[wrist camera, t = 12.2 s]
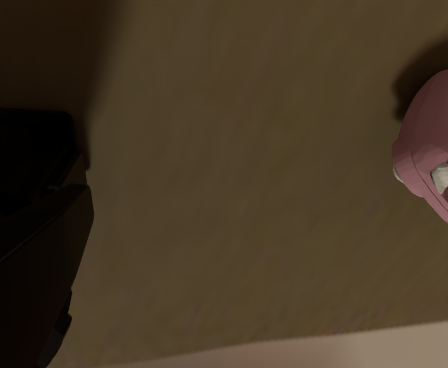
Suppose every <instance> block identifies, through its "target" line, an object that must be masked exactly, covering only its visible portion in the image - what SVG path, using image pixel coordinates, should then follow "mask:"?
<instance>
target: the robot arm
mask: <svg viewBox="0 0 448 368" xmlns="http://www.w3.org/2000/svg"><path fill="white" fill-rule="evenodd" d="M60 118H61V119H64V120H65V121H66V124H62V123H61V122H60V121H59V119H60ZM93 220H94V209H93V202H92V195H91V189H90V187H89V186H88V185H87V180H86V173H85V166H84V159H83V152H82V151H81V150H80V149H79V148H77V144H76V137H75V130H74V124H73V119H72V117H71V116H70V114H68V113H66V112H63V111H46V110H29V109H12V108H0V368H46V367H47V366H48V365H49V363H50V362H51V360H52V359H53V358H54V356H55V355H56V353H57V351H58V350H59V348H60V346H61V344H62V342H63V339H64V337H65V335H66V333H67V331H68V329H69V327H70V325H71V320H72V317H71V315H70V314H68V311H69V306H70V301H71V296H72V290H71V287H72V284H73V282H74V279H75V277H76V274H77V271H78V268H79V265H80V262H81V259H82V256H83V253H84V249H85V246H86V243H87V240H88V237H89V233H90V230H91V227H92V224H93Z"/></svg>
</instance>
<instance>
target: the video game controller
mask: <svg viewBox="0 0 448 368" xmlns="http://www.w3.org/2000/svg"><path fill="white" fill-rule="evenodd" d="M392 158H393V161H394V165H393V169H394V174H395V176H396V177H397V178H398V179H399V180H400V181H401V182H403V183H404V184H405V185H406V186H407V188H408V189H409V190H410V191H411V192H412V193H414V194H415V195H417V196H419V197H424V198H425V199H426V200H427V202H428V203H429V204H430V205H431V206H432V207H433V209H434V210H435V211H436V212H437V213H438V214H439V215H440V217H442V218H443V219H444V220H445V221H446V222H447V223H448V69H447V70H443V71H440V72H438V73H437V74H435V75H434V76H432V77H431V78H430V79H429V80H428V81H427V82H426V83H425V84H424V85H423V86H422V87H421V89H420V90H419V91H418V92H417V94H416V95H415V97H414V99H413V100H412V102H411V104H410V106H409V108H408V110H407V112H406V114H405V117H404V120H403V123H402V126H401V130H400V134H399V137H398V140H396V141H395V142H394V143H393V146H392Z"/></svg>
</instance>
